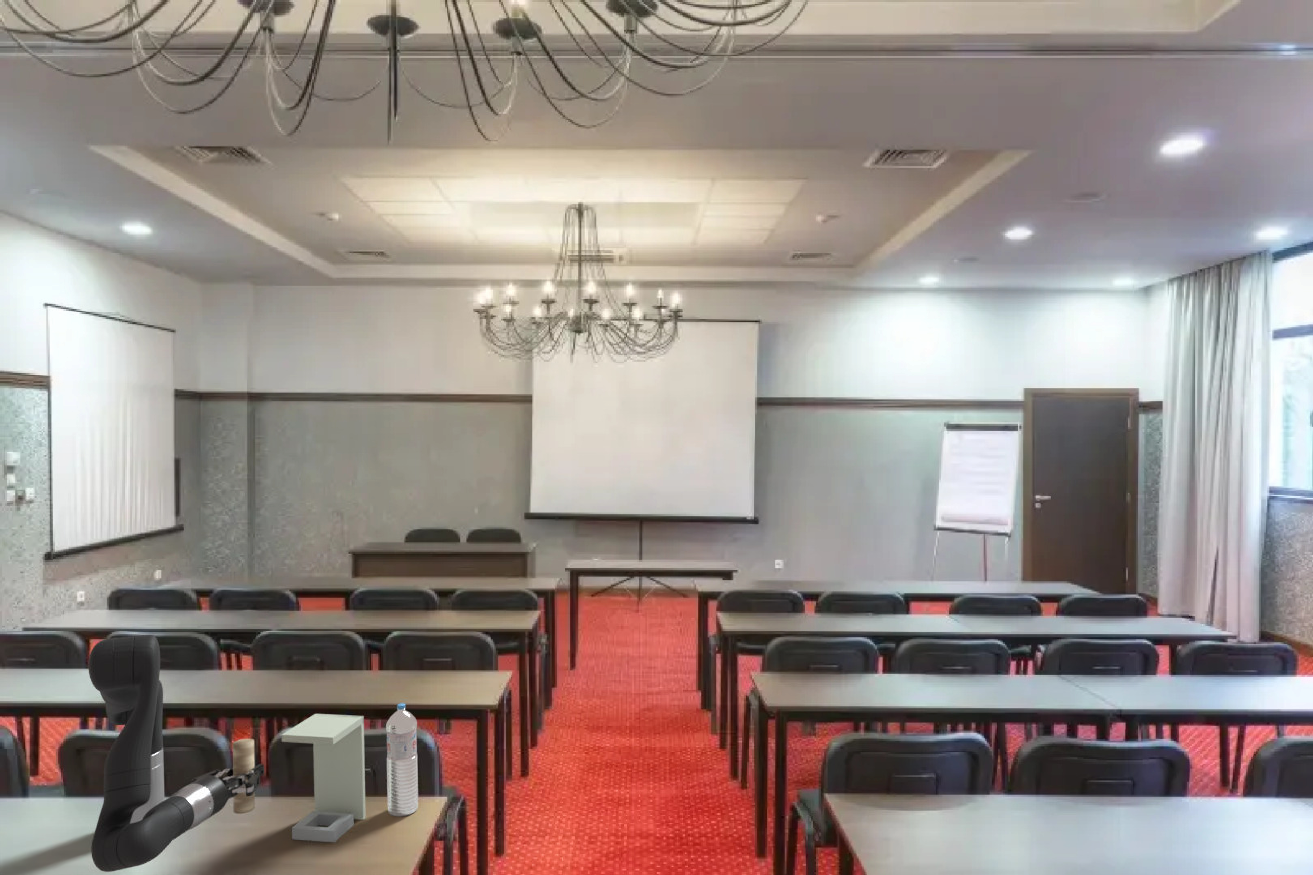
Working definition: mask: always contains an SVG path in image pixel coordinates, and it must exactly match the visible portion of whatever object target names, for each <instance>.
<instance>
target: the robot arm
mask: <svg viewBox="0 0 1313 875" xmlns="http://www.w3.org/2000/svg"><path fill="white" fill-rule="evenodd" d="M159 644H160V642H159V641H158V639H157V637H156V636H155V635H153V634H141V635H134V636H133V635H132V636H123V637H122V636H121V637H115V638H113V637H112V638H106V639H104V640H101V641H99V642H97V643H96V644H95V645H94V646H93V647H92V649H91V651H90V654H89V657H88V663H87V664H88V665H87V666H88V669H87V670H88V674H89V679H90V681H91V684H92V686H93V687H94V688H95V689H96V690H97V691H99V693H100V695H101V698H102V700H103V701H104V704H105V713H106V717H107V719H108V721H109V722H110V723H111V725H114V726H123V728H122V729H121V731H120V733H119V734H118V736H117V737H116V739H115V741H114V742H113V743H112V745H111V747H110V749H109V751H108V753H107V757H106V759H105V763H104V770H103V774H104V775H103V804H102V807H101V810H100V813H99V815H98V816H99V817H98V820H97V823H96V826H95V830H94V833H93V838H92V842H91V846H90V847H91V848H90V849H91V850H90V852H91V859H92V862H93V864H94V865H95V867H96V868H97V869H98V870H99V871H101V872H105V873H106V872H107V873H109V872H110V873H111V872H116V871H120V870H125V869H129V868H130V869H131V868H133V867H134V868H135V867H138V866H142V865H145V864H147V863H149V862H151V861H153V860H154V859H155V858H157V857H158V856H159V855H161V854H162V853H163V851H165V850H166V848H167V847H168V846H170V844H171V843H172V841H174V840H176V839H177V838H179V837H180V836H181V835H183V834H185V833H186V832H189V830H192V829H194V828H196V827H198V826H199V825H201V824H202V823H204V822H205V821H207V820H208V819H210V818H211V817H213V816H215V815H216V814H217V813H220V812H221V810H223V809H224V808H225V806H226V805H227V803H228V800H230V799H231V798H233V797H234V796H236V795H238V793H246V796H251V795H253V793H254V792H256V791H257V789H258V788H259V787H260V785H261V777H262V776H264V774H265V766H264V764H263V763H260V764H257V765H255V766H254V768H253V769H251V770H249V771H248V772H245V773H237V774H235V775H233V766H232V767H231V768H225V769H223V770H222V771H221V769H214V770H212V771H210V772H207V773H204V774H201V775H199V776H196V777H194V778H192V779H191V783H189V784H188V785H186V786H184V787H182V788H180V789H178V791H176V792H174V793H173V794H172V795H171V796H170V797H167V798H166V799H165V774H164V773H165V770H164V768H165V766H164V764H165V763H164V742H163V740H164V739H163V738H164V737H163V710H164V709H163V707H164V689H163V688H164V687H163V685H162V681H161V680H160V671H161V650H160V649H161V648H160V645H159ZM246 777H248V781H245V778H246Z"/></svg>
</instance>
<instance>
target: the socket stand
mask: <svg viewBox="0 0 1313 875" xmlns="http://www.w3.org/2000/svg"><path fill="white" fill-rule="evenodd" d="M364 717H365V716H364V715H351V714H350V715H348V714H329V713H327V714H325V713H314V714H312V715H311V716H310V717H308V718H306V719H304V720H303V721H301V722H300V723H299V724H296V725H295V726H293V727H292V728H290V729H288V730H287V731H285V732H284V733H282V734H281V742H283V743H296V744H297V743H300V744H313V746H312V748H313V749H312V750H313V784H314V785H313V789H314V790H313V791H314V793H313V794H314V796H313V798H314V810H312V811H311V812H309V813H308V814H307V815H305V816H304V818H302V819H301V820H299V821H298V822H297V823H296V824H295V825H293V826H292V827H291V838H292V840H298V841H310V840H311V841H312V842H324V843H325V842H326V843H336V842H337V841H338V840H339V839H340V838H341V837H342V836H343V835H344V834H346V833H347V832H348V830H350V829H351V828H352V827H353V826H354V824H355V822H354V820H361V821H363V820H365V819H366V778H365V777H366V773H365V771H366V770H365V769H366V768H365V766H366V765H365V721H364V720H365V718H364ZM311 841H310V842H311Z"/></svg>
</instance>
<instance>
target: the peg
mask: <svg viewBox="0 0 1313 875" xmlns="http://www.w3.org/2000/svg"><path fill="white" fill-rule="evenodd" d="M232 767H233V775H235V774H237V773H245V772H248V771H249V770H251V769H253V768H254V767H255V739H253V738H242V739H238V740H236V741H234V742H233V743H232ZM245 781H248V777H246V778H245ZM255 792H256V791H255ZM255 792H254V793H253V795H251V796H246V793H238V795H236V796H234V797H232V799H233V800H232V801H233V802H232V803H233V804H232V805H233V806H232V807H233V809H232V810H233V813H234V814H238V815H239V814H240V815H242V814H246V813H249V812H252V811H254V810H255V809H256V801H255V800H256V798H255V796H256V795H255V794H256V793H255Z"/></svg>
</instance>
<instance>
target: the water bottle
mask: <svg viewBox="0 0 1313 875" xmlns="http://www.w3.org/2000/svg"><path fill="white" fill-rule="evenodd" d="M417 726H418V721H417V719H416V717H415V716H414V715H413V714H412V713H411V712H410V711H408V710H406V703H402V702H401V703H398V704H397V706H396V711H395V712H394V713H393V714H392V715H391V716H390V717H389V718H388V720H387V722H386V725H385V729H386V750H387V751H386V756H387V757H386V780H387V782H386V785H387V786H386V789H387V796H386V797H387V810H388V814H389V815H390V816H393V817H407V816H410V815H412V814H413V813H415V812H416V811H417V810H418V806H419V788H418V787H419V784H418V783H419V780H418V779H419V777H418V776H419V775H418V774H419V773H418V771H419V770H418V752H417V751H418V750H417V748H418V746H417V742H418V741H417Z"/></svg>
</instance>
